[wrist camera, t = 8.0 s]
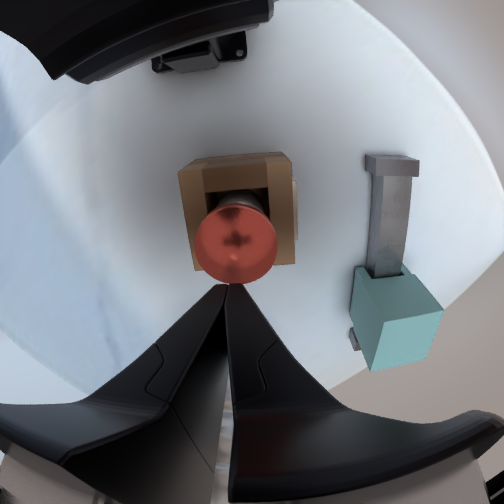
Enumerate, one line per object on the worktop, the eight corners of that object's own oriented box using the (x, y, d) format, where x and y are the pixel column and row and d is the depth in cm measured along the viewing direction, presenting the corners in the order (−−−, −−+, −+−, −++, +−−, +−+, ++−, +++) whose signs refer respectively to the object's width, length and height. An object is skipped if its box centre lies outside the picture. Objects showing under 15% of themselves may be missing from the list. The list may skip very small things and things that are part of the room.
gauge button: (207, 183, 16) (187, 212, 11) (268, 178, 16) (275, 205, 11) (215, 239, 18) (201, 286, 13) (271, 234, 18) (279, 281, 13)
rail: (365, 154, 18) (376, 158, 17) (406, 156, 18) (419, 160, 16) (349, 337, 26) (354, 351, 24) (381, 332, 26) (387, 345, 24)
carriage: (352, 267, 22) (384, 321, 16) (404, 262, 22) (444, 310, 16) (347, 315, 24) (369, 371, 18) (394, 308, 24) (424, 359, 18)
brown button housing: (195, 159, 19) (177, 172, 14) (286, 151, 18) (297, 161, 14) (206, 237, 21) (194, 270, 17) (289, 231, 21) (299, 263, 17)
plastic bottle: (187, 315, 25) (136, 542, 7) (262, 319, 25) (272, 556, 7) (194, 362, 28) (164, 547, 10) (258, 365, 28) (262, 555, 10)
